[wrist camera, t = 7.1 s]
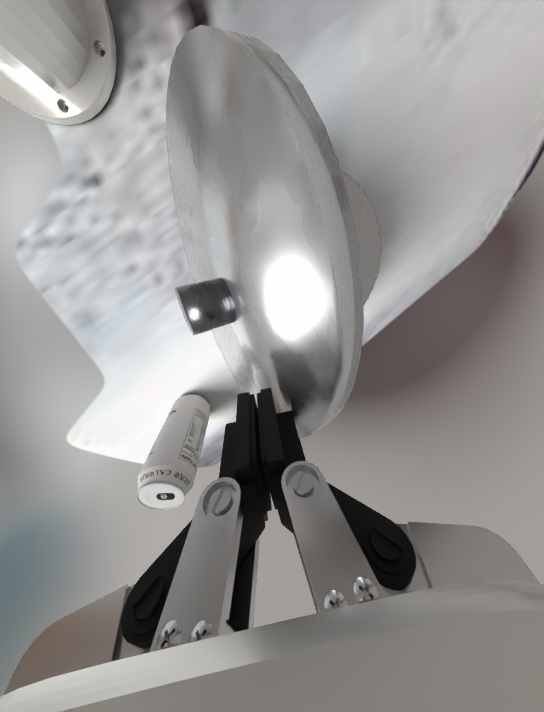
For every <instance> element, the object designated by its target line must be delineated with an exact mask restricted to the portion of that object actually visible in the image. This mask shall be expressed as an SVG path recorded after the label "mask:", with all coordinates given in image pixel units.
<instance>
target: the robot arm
mask: <svg viewBox="0 0 544 712" xmlns="http://www.w3.org/2000/svg"><path fill="white" fill-rule="evenodd" d="M115 73H116V44H115V37H114V30H113V24H112V20H111V17H110V13H109V9H108V5H107V2H106V0H0V95H1V96H2V97H3V98H5V99H6V100H8V101H9V102H11V103H12V104H14V105H15V106H17V107H18V108H20V109H21V110H23V111H25V112H27V113H29V114H30V115H32V116H34V117H36V118H38V119H41V120H44V121H47V122H50V123H54V124H61V125H73V124H80V123H83V122H85V121H87V120H90V119H92V118H93V117H94V116H95V115H96V114H98V113H99V112H100V111H101V110H102V108H103V107H104V105H105V104H106V102H107V101H108V99H109V96H110V94H111V91H112V88H113V85H114V79H115ZM68 110H69V111H68ZM260 392H261V393H257V404H256V400H255V396H254V394H251V395H250V393H249V392H246V393H241V394H238V400H237V415H236V422H233V423H228V424H226V427H225V435H224V442H223V450H222V458H221V466H220V474H219V478H218V479H217V480H215V481H213V482H212V483H210V484H209V485H208V486H207V487H206V488H205V490H204V491H203V493H202V495H201V497H200V499H199V502H198V505H197V508H196V511H195V514H194V517H193V519H192V520H191V522H190V523H189V524H188V525H187V526H186V527H185V528H184V529H183V530H182V532H181V533H180V534H179V535H178V536H177V537H176V538H175V539H174V541H173V542H172V543H171V544H170V545H169V546H168V547H167V548H166V549H165V550H164V552H163V553H162V554H161V555H160V556H159V557H158V558H157V559H156V560H155V562H154V563H153V564H152V565H151V566H150V567H149V569H147V571H146V572H145V573H144V574H143V575H142V576H141V577H140V579H139V580H138V581H137V583H136V584H134V585H132V586H128V585H126V586H123V587H121V588H119V589H117V590H116V591H114V592H112V593H110V594H108V595H106V596H104V597H102V598H100V599H98V600H96V601H94V602H92V603H90V604H88V605H86V606H84V607H83V608H81V609H79V610H77V611H75V612H73V613H71V614H69V615H67V616H65V617H63V618H61V619H59V620H58V621H56V622H54V623H53V624H51V625H50V626H49V627H47V628H46V629H45V630H44V631H43V632H42V633H41V634H40V635H39V636H38V637H37V638H36V639H35V640H34V641H33V642H32V644H31V645H30V647H29V648H28V649H27V651H26V652H25V654H24V655H23V656H22V658H21V660H20V661H19V663H18V665H17V667H16V669H15V671H14V673H13V675H12V677H11V679H10V681H9V684H8V686H7V688H6V691H5V693H4V695H3V696H1V697H0V712H544V585H542V584H540V583H539V582H538V580H537V579H536V578H535V576H534V575H533V573H532V572H531V571H530V569H529V568H528V566H527V565H526V563H525V562H524V561H523V559H522V558H521V556H520V555H519V554H518V553H517V552H516V551H515V549H514V548H513V547H512V546H511V545H510V544H509V543H508V542H506V541H505V540H504V539H503V538H501V537H500V536H499V535H497V534H495V533H494V532H492V531H490V530H488V529H486V528H481V527H477V526H468V525H452V524H437V523H421V522H408V523H407V524H395V523H394V522H392V521H391V520H390V519H388V518H386V517H385V516H383V515H381V514H379V513H378V512H376V511H374V510H373V509H371V508H369V507H367V506H366V505H364V504H363V503H361V502H359V501H357V500H356V499H354V498H352V497H351V496H349V495H347V494H346V493H344V492H342V491H341V490H339V489H337V488H335V487H334V486H332V485H330V484H329V483H327V482H326V480H325V478H324V476H323V474H322V472H321V471H320V470H319V468H318V467H317V466H315V465H314V464H313V463H310V462H307V461H306V460H305V456H304V453H303V449H302V446H301V442H300V439H299V435H298V432H297V428H296V425H295V421H294V418H293V415H292V411H286V412H281V413H277V414H276V410H275V405H274V400H273V395H272V391H271V388H266V389H261V390H260ZM257 406H258V408H257ZM270 493H271V496H270ZM271 497H272V500H273V503H274V507H275V509H278V513H279V516H280V520H281V523H282V524H283V525H284V526H285V527H286V528H287V529H288V530H290V531H291V532H292V533H293V534H294V538H295V541H296V545H297V548H298V551H299V554H300V558H301V561H302V565H303V568H304V572H305V575H306V578H307V582H308V585H309V589H310V592H311V595H312V599H313V602H314V606H315V609H316V612H317V613H316V614H312V615H308V616H303V617H299V618H294V619H290V620H286V621H281V622H277V623H273V624H269V625H265V626H260V627H256V628H253V624H254V610H255V595H256V582H257V569H258V555H259V536H260V535H261V533H262V531H263V530H264V528H265V521H267V520H268V518H267V511H270V510H272V509H271Z"/></svg>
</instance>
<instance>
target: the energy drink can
mask: <svg viewBox="0 0 544 712" xmlns="http://www.w3.org/2000/svg"><path fill="white" fill-rule="evenodd" d="M210 410H211V409H210V405H209V404H208V402H207V401H206V400H205V399H204V398H203V397H202V396H200V395H196V394H188V395H185V396H182V397H180V398H178V399H177V400H176V401H175V403H174V405H173V407H172V409H171V411H170V413H169V415H168V417H167V419H166V421H165V423H164V425H163V427H162V429H161V431H160V433H159V435H158V437H157V439H156V441H155V443H154V445H153V447H152V449H151V451H150V453H149V455H148V457H147V460H146V462H145V464H144V466H143V468H142V470H141V472H140V474H139V476H138V492H137V495H136V499H137V501H138V502H139V503H140V504H141V505H142V506H144V507H146V508H149V509H152V510H169V509H173V508H175V507H178V506H179V505H180V504H181V503H182V502H183V501H184V498H185V495H186V494H187V493H188V492H189V490H190V489H191V488H192V486H193V484H194V479H195V475H196V471H197V467H198V462H199V458H200V454H201V450H202V445H203V441H204V437H205V433H206V428H207V424H208V420H209V416H210Z"/></svg>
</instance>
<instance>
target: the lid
mask: <svg viewBox="0 0 544 712" xmlns="http://www.w3.org/2000/svg"><path fill="white" fill-rule="evenodd" d="M166 131H167V149H168V159H169V169H170V177H171V184H172V191H173V197H174V203H175V208H176V213H177V218H178V223H179V228H180V232H181V236H182V241H183V245H184V249H185V253H186V256H187V260H188V264H189V267H190V271H191V274H192V277H193V281H194V284H190V285H185V286H181V287H176V288H175V291H176V295H177V298H178V301H179V304H180V307H181V310H182V312H183V315H184V317H185V319H186V322H187V324H188V326H189V328H190V330H191V332H192V334H193V335H197V334H200V333H203V332H206V331H209V330H211V331H212V333H213V335H214V338H215V340H216V342H217V344H218V347H219V349H220V351H221V353H222V355H223V357H224V359H225V361H226V363H227V365H228V367H229V369H230V371H231V373H232V375H233V376H234V378H235V380H236V382H237V383H238V385H239V387H240V388H241V390H242V391H243V393H246V392H249V393H250V395H251V394H254V396H255V400H256V404H257V393H261V392H260V390H261V389H266V388H271V391H272V395H273V400H274V405H275V410H276V414H277V413H281V412H286V411H292V415H293V418H294V421H295V425H296V428H297V432H298V435H299V438H304V437H307V436H310V435H311V434H313V433H314V432H316V431H317V430H318V429H320V428H322V427H323V426H325V425H326V424H328V423H329V422H330V421H331V420H333V419H334V418H336V416H337V415H338V413H339V412H340V411H341V410H342V408H343V407H344V406H345V404H346V402H347V399H348V397H349V395H350V393H351V390H352V388H353V386H354V381H355V377H356V374H357V369H358V365H359V362H360V355H361V345H362V335H363V325H364V317H363V278H362V271H361V263H360V255H359V248H358V240H357V233H356V227H355V223H354V219H353V215H352V210H351V206H350V202H349V198H348V194H347V190H346V186H345V181H344V177H343V174H342V172H341V169H340V166H339V163H338V161H337V158H336V155H335V152H334V150H333V147H332V144H331V142H330V139H329V136H328V133H327V131H326V128H325V126H324V124H323V122H322V120H321V118H320V116H319V114H318V112H317V110H316V109H315V107H314V105H313V103H312V101H311V99H310V97H309V95H308V94H307V92H306V90H305V88H304V86H303V84H302V83H301V82H300V80H299V79H298V78H297V77H296V75H295V74H294V73H293V72H292V70H291V69H290V68H289V67H288V65H287V64H286V63H285V62H284V60H283V59H282V58H281V56H280V55H279V54H277V53H276V52H274V51H273V50H272V49H270V48H269V47H268V46H266V45H265V44H263V43H262V42H261V41H259V40H258V39H256V38H252V37H249V36H245V35H241V34H238V33H234V32H230V31H227V30H223V29H219V28H214V27H209V26H204V25H199V26H198V27H196V28H194V29H192V30H190V31H188V32H187V33H186V34H185V36H184V37H183V39H182V40H181V42H180V43H179V45H178V46H177V49H176V52H175V55H174V58H173V62H172V65H171V70H170V76H169V82H168V90H167V105H166ZM257 408H258V406H257Z"/></svg>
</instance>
